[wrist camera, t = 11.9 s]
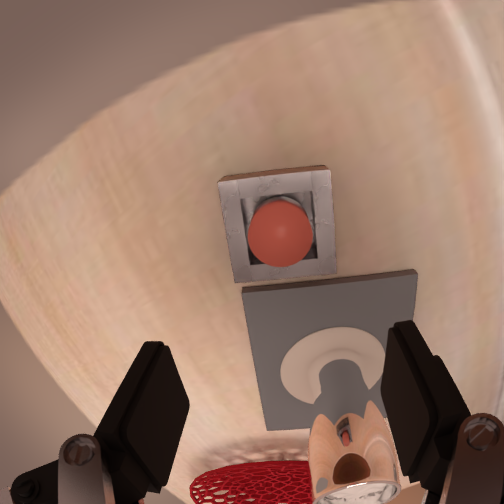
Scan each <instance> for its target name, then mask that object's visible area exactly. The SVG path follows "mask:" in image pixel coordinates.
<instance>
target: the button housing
mask: <svg viewBox="0 0 504 504" xmlns="http://www.w3.org/2000/svg"><path fill="white" fill-rule="evenodd" d="M217 183H218V189H219V195H220V201H221V207H222V213H223V219H224V224H225V230H226V236H227V242H228V247H229V253H230V259H231V265H232V270H233V276H234V281H235V283H242V282H254V281H265V280H275V279H286V278H296V277H306V276H316V275H325V274H335V273H337V270H336V246H335V227H334V211H333V198H332V185H331V174H330V169H329V168H327V167H326V166H325V165H319V166H308V167H298V168H288V169H279V170H270V171H262V172H254V173H246V174H238V175H231V176H224V177H223V178H222V179H221V180H220V181H218V182H217ZM278 196H282V197H288V198H291V199H293V200H295V201H297V202H298V203H299V204H300V205H301V206H302V207H303V208H304V210H305V211H306V213H307V216H308V219H309V222H310V225H311V228H312V233H313V239H312V244H311V247H310V250H309V251H308V253H307V254H306V256H305V257H304V258H303V259H302V260H300V261H299V262H297V263H296V264H293V265H291V266H287V267H274V266H270V265H267V264H265V263H263V262H262V261H260V260H259V259H258V258H257V257H256V256H255V255H254V254H253V252H252V251H251V249H250V246H249V243H248V230H249V226H250V223H251V219H252V216H253V213H254V211H255V210H256V208H257V207H258V206H259V205H260V204H261V203H262V202H263V201H265V200H267V199H269V198H272V197H278Z"/></svg>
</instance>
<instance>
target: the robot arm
mask: <svg viewBox="0 0 504 504" xmlns="http://www.w3.org/2000/svg"><path fill="white" fill-rule="evenodd" d="M380 391H381V397H382V401H383V404H384V407H385V411H386V414H387V418H388V421H389V425H390V428H391V432H392V435H393V439H394V443H395V447H396V450H397V454H398V458H399V462H400V466H401V470H402V474H403V476H409V480H410V483H413V482H417V481H420V483H421V487H422V488H425V489H426V490H425V494H424V497H423V501H422V504H504V426H503V424H502V422H501V421H500V420H499V419H498V418H497V417H495V416H493V415H491V414H486V413H477V414H474V415H471V413H470V411H469V409H468V407H467V405H466V404H465V402H464V400H463V398H462V396H461V394H460V392H459V390H458V388H457V386H456V384H455V383H454V381H453V379H452V377H451V375H450V373H449V372H448V370H447V368H446V366H445V364H444V363H443V361H442V359H441V358H440V357H439V356H438V355H435V356H433V355H432V353H431V351H430V349H429V348H428V346H427V344H426V342H425V341H424V339H423V337H422V335H421V334H420V332H419V330H418V328H417V327H416V325H415V323H414V322H413V321H412V320H406V321H400V322H395V323H394V326H393V327H391V328H389V330H388V337H387V346H386V353H385V361H384V368H383V374H382V381H381V387H380ZM189 406H190V404H189V399H188V396H187V394H186V391H185V389H184V386H183V383H182V381H181V378H180V376H179V373H178V370H177V368H176V365H175V362H174V359H173V357H172V354H171V351H170V348H169V347H168V346H165V345H164V343H163V342H161V341H146V342H145V343H144V344H143V346H142V347H141V349H140V351H139V353H138V354H137V356H136V358H135V360H134V361H133V363H132V365H131V367H130V369H129V370H128V372H127V374H126V376H125V378H124V379H123V381H122V383H121V385H120V387H119V388H118V390H117V392H116V394H115V396H114V398H113V399H112V401H111V403H110V405H109V407H108V409H107V411H106V412H105V414H104V416H103V418H102V420H101V422H100V424H99V426H98V428H97V430H96V432H95V433H94V436H92V435H89V434H78V435H74V436H72V437H70V438H68V439H67V440H66V441H65V442H64V443H63V445H62V446H61V448H60V451H59V459H58V460H56V461H53V462H51V463H48V464H46V465H43V466H41V467H38V468H36V469H33V470H31V471H28V472H26V473H23V474H21V475H20V476H18V477H17V478H16V479H15V480H14V482H13V484H12V487H11V489H10V488H9V487H5V488H3V489H1V490H0V504H144V499H143V498H144V497H145V495H146V492H147V491H148V492H154V493H160V491H161V488H162V486H166V485H167V482H168V479H169V476H170V472H171V469H172V465H173V462H174V458H175V455H176V452H177V448H178V445H179V442H180V438H181V435H182V431H183V428H184V425H185V421H186V418H187V415H188V411H189Z"/></svg>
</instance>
